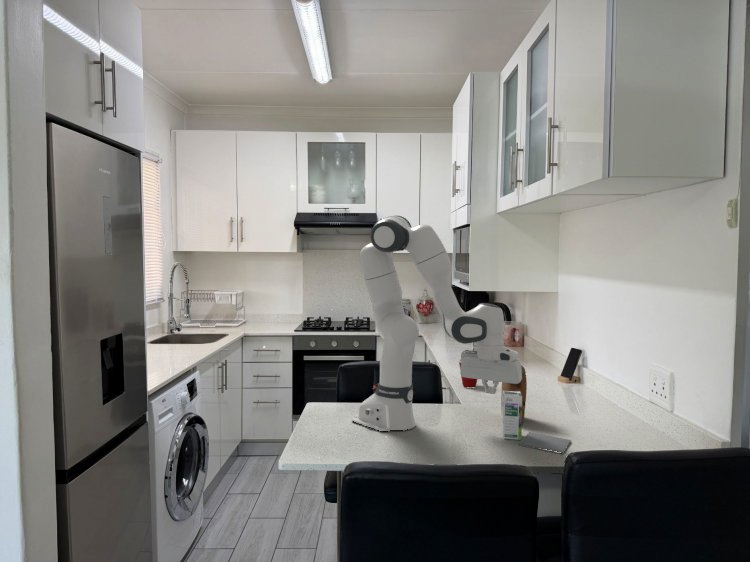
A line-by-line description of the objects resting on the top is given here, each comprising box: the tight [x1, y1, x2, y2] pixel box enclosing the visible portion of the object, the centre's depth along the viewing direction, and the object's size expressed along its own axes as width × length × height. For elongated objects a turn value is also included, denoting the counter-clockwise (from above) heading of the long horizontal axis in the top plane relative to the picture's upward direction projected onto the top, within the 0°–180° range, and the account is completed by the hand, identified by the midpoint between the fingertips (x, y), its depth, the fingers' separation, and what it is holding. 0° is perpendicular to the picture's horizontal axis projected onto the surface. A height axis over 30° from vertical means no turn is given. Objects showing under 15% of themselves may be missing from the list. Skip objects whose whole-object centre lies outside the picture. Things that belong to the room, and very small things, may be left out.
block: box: [500, 364, 528, 423], centre depth 176 cm, size 11×8×20 cm
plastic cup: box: [458, 358, 478, 388], centre depth 222 cm, size 11×11×12 cm
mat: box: [518, 431, 572, 453], centre depth 154 cm, size 13×12×1 cm
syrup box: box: [501, 391, 523, 441], centre depth 160 cm, size 6×6×14 cm
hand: (490, 393), depth 163 cm, fingers closed
